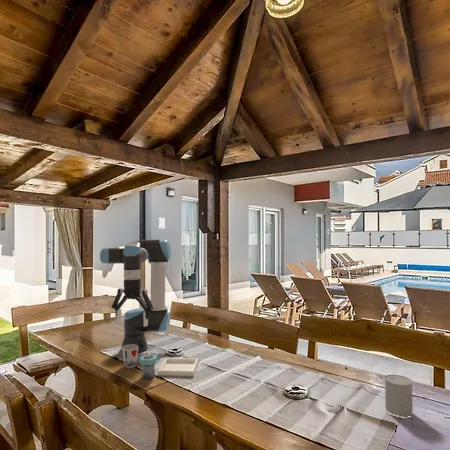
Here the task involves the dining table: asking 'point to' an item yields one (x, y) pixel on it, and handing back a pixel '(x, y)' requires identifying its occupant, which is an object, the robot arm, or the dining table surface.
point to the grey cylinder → (398, 395)
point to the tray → (178, 367)
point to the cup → (130, 355)
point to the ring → (149, 361)
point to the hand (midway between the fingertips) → (132, 324)
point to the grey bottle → (148, 369)
